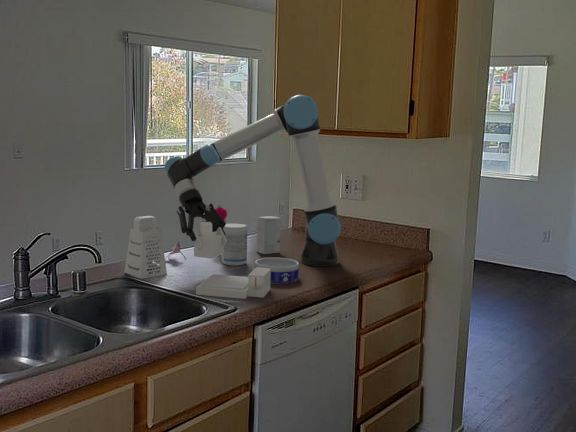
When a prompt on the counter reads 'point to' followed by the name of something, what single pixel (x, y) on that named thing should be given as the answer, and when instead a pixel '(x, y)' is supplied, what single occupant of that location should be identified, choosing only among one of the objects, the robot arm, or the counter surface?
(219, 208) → the pepper mill
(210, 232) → the medicine bottle
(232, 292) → the kitchen scale
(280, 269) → the dog bowl
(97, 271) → the counter surface
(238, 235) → the supplement tub
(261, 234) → the skincare box
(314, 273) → the counter surface
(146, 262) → the grater
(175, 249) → the lily
